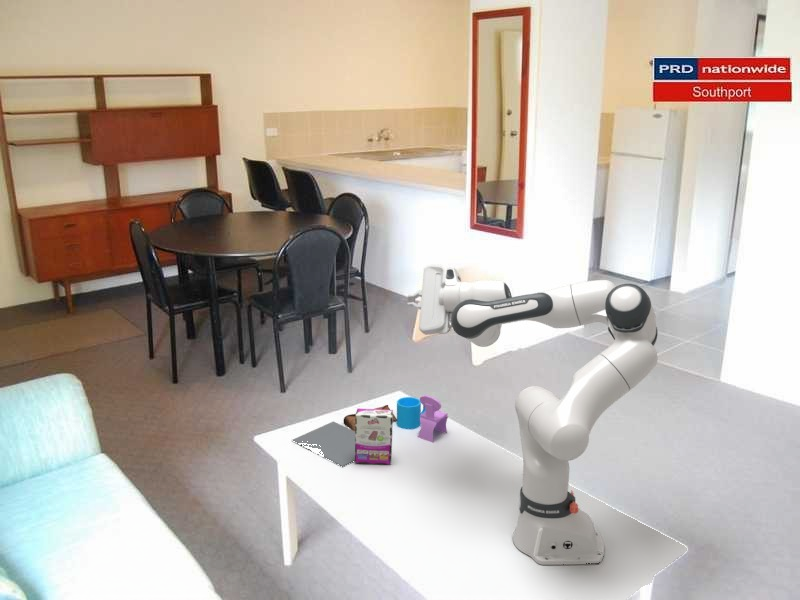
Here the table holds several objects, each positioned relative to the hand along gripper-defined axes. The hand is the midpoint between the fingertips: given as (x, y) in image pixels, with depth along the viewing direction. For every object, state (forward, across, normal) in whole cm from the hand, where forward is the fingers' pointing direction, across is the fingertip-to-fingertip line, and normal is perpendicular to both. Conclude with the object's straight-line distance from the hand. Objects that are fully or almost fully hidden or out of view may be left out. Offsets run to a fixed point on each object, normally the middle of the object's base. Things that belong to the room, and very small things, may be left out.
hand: (408, 300), depth 202 cm
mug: (+16, -25, -49) cm, 58 cm away
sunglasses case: (+29, -27, -44) cm, 59 cm away
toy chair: (+6, -30, -45) cm, 55 cm away
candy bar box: (+18, -42, -26) cm, 52 cm away
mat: (+33, -36, -29) cm, 57 cm away
